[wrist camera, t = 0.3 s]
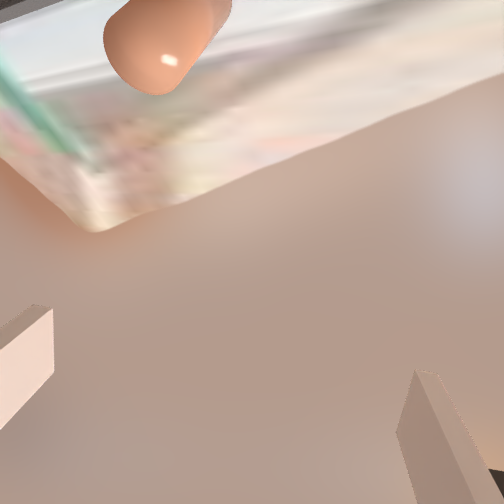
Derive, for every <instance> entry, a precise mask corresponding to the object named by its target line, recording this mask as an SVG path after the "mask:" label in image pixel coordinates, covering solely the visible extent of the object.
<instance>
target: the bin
mask: <svg viewBox="0 0 504 504" xmlns="http://www.w3.org/2000/svg"><path fill="white" fill-rule="evenodd" d="M60 1H63V0H0V23H3V22H6V21H9V20H11V19H14V18H17V17H19V16H22V15H25V14H28V13H30V12H33V11H36V10H38V9H41V8H44V7H47V6H49V5H52V4H55V3H57V2H60Z"/></svg>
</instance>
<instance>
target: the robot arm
mask: <svg viewBox="0 0 504 504" xmlns="http://www.w3.org/2000/svg"><path fill="white" fill-rule="evenodd" d="M53 341H54V340H53V308H50V307H44V306H39V305H31V306H30V307H29V308H27V309H26V310H24V311H23V312H22V313H20V314H19V315H18V316H16V317H15V318H14V319H12V320H11V321H9V322H8V323H7V324H5V325H4V326H3V327H1V328H0V430H1V429H2V427H3V426H4V425H5V424H6V423H7V422H8V421H9V420H10V419H11V418H12V417H13V416H14V415H15V413H16V412H17V411H18V410H19V409H20V408H21V407H22V406H23V405H24V404H25V403H26V402H27V401H28V399H29V398H30V397H31V396H32V395H33V394H34V393H35V392H36V391H37V390H38V389H39V388H40V387H41V386H42V384H43V383H44V382H45V381H46V380H47V379H48V378H49V377H50V376H51V375H52V374H53V373H54V342H53ZM396 434H397V438H398V440H399V444H400V447H401V451H402V454H403V457H404V460H405V464H406V467H407V470H408V474H409V477H410V480H411V483H412V487H413V490H414V493H415V496H416V500H417V503H418V504H504V472H503V471H498V470H492V469H488V468H487V466H486V464H485V462H484V460H483V458H482V456H481V455H480V453H479V451H478V449H477V447H476V446H475V443H474V441H473V439H472V438H471V436H470V434H469V432H468V430H467V428H466V426H465V424H464V423H463V421H462V419H461V417H460V415H459V413H458V411H457V409H456V408H455V406H454V404H453V402H452V400H451V398H450V396H449V394H448V393H447V391H446V389H445V387H444V385H443V383H442V381H441V379H440V377H439V376H438V374H437V373H434V372H428V371H422V370H416V369H415V371H414V374H413V378H412V381H411V384H410V388H409V391H408V394H407V398H406V401H405V404H404V408H403V411H402V414H401V417H400V421H399V424H398V428H397V431H396Z"/></svg>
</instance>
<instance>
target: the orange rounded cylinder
mask: <svg viewBox="0 0 504 504" xmlns="http://www.w3.org/2000/svg"><path fill="white" fill-rule="evenodd" d="M231 7H232V0H130V1H129V2H128V3H126V4H125V5H124V6H123V7H122V8H121V9H119V10H118V11H117V12H116V13H115V14H114V15H112V16H111V17H110V19H109V20H108V21H107V23H106V25H105V28H104V34H103V42H104V48H105V52H106V55H107V57H108V59H109V61H110V63H111V65H112V67H113V68H114V70H115V71H116V72H117V74H118V75H119V76H120V77H121V78H122V79H123V80H124V81H125V82H126V83H128V84H129V85H130V86H132V87H133V88H135V89H137V90H139V91H141V92H144V93H147V94H152V95H162V94H166V93H168V92H170V91H172V90H173V89H174V88H175V87H176V86H177V85H178V84H179V83H180V81H181V80H182V79H183V77H184V76H185V75H186V73H187V72H188V71H189V69H190V68H191V67H192V65H193V64H194V63H195V61H196V60H197V59H198V58H199V56H200V55H201V54H202V52H203V51H204V50H205V48H206V47H207V46H208V44H209V43H210V42H211V40H212V39H213V38H214V36H215V35H216V34H217V33H218V31H219V30H220V29H221V27H222V26H223V25H224V23H225V22H226V21H227V19H228V17H229V15H230V12H231Z"/></svg>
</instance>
